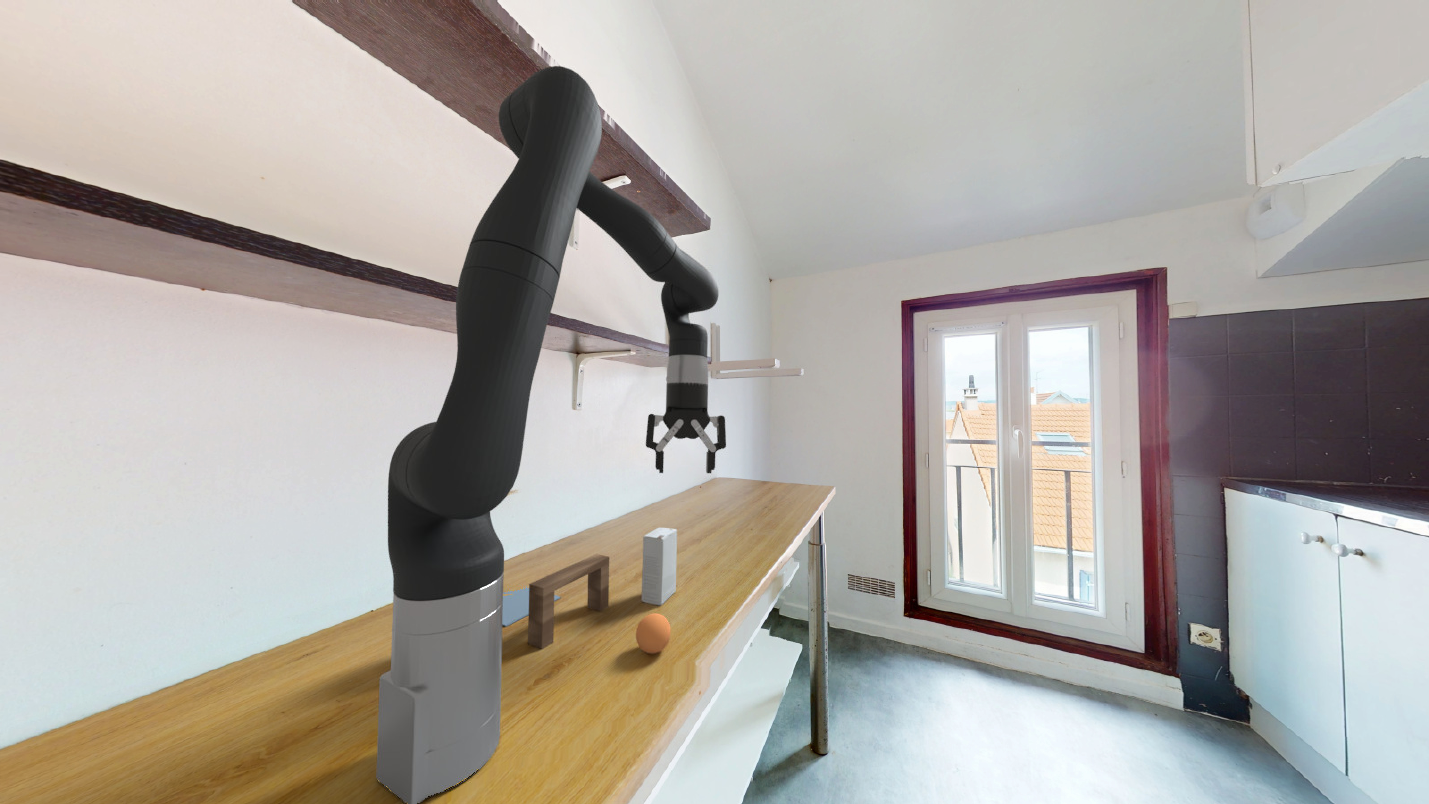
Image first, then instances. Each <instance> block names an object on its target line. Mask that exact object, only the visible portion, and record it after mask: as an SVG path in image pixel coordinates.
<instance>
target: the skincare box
mask: <svg viewBox="0 0 1429 804" xmlns="http://www.w3.org/2000/svg"><path fill="white" fill-rule="evenodd" d="M642 541H643V544H642V573H641V574H642V575H641V577H642V578H641V579H642V580H641V602H643V603H646V604H650V605H655V606H662V605H664V603H666V602H667V600H669V599H670V597H671V596H672V595H674V593H675V592H676V591H677V547H678V546H677V545H678V544H677V543H678V529H677V528H668V527H657V528H655V529H654V530H652V531H650V532H649V533H646V534H645V535H643V539H642Z"/></svg>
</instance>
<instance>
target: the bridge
mask: <svg viewBox="0 0 1429 804" xmlns="http://www.w3.org/2000/svg"><path fill="white" fill-rule="evenodd" d="M586 576H587V605H586V606H587V609H591V610H594V611H597V612H602V611H604V610H606V609H607V608H608V607H610V605H609V600H610V599H609V597H610V595H609V593H610V590H609V589H610V586H609V585H610V556H607V555H603V554H598V553H596V554H593V555H591V556H589V557H586V558H585V559H582V560H580V561H577V562H575V563H573V564H570V565H568V566H566V567H565V568H562V569H559V570H558V571H555V572H553V573H551V574H549V575H546V576H544V577H542V578H539V579H537V580H535V581H532V582H530V583H528V587H529V615H528V617H527V619H528V625H527V626H528V629H527V644H528V645H530V646H533V647H535V648H537V649H538V648H539V649H541V650H543V649H545V648H546V647H548V646H549V645H551V644H553V643H554V637H555V636H554V634H555V633H554V628H555V627H554V626H555V625H554V624H555V601H554V595H555V591H557V590H559V589H561V588H564V587H565V586H567V585H569V584H571V583H574V582H575V581H577V580H579V579H581V578H583V577H586Z"/></svg>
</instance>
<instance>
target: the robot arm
mask: <svg viewBox="0 0 1429 804" xmlns="http://www.w3.org/2000/svg"><path fill="white" fill-rule="evenodd" d="M602 123H603V122H602V114H601V110H600V106H599V102H598V100H597V98H596V96H595V93H594V92H593V90H592V88H591V86H590V85H589V83H588V82H587V81H586V80H585V79H584V78H583V77H582V76H581V75H580V74H579V73H578V72H576V71H574V70H573V69H571V68H568V67H565V66H562V65H561V66H559V65H554V66H548V67H545V68H542V69H540V70H537V71H536V72H534V73H533V74H532V75H531V76H529V77H528V78H527V79H526V80H524V81H523V82H522V83H521V84H520V85H518V86H517V88H515V89H514V90H513V91H512V92H511V93H510V94H509V95H508V96H507V97H506V98H505V99H503V101H502V102H501V104H500V106H499V111H498V126H499V129H500V132H501V134H502V136H503V139H504V141H505V142H506V145H507V146H508V148H509V149H510V150H511V152H512V153H513V154H514V155H515V156H516V157H517V162H516V164H515V166H514V167H513V170H512V171H511V173H510V174H509V176H507V179H506V180H505V182H504V183H503V184H502V186H501V188H499V190H498V192H497V193H496V195H495V196H494V197H493V199H492V200H491V203H490V204H489V206H488V207H487V209H486V210H485V212H484V214H483V215H482V217H481V219H480V220H479V222H478V224H477V226H476V228H475V230H474V233H473V235H472V238H471V240H470V242H469V244H468V245H469V246H468V249H467V253H466V256H465V258H464V259H465V260H464V262H463V266H462V268H461V272H460V276H459V279H458V284H457V289H456V290H457V291H456V298H455V299H456V300H455V318H456V319H455V321H456V325H455V326H456V337H457V338H456V339H457V340H456V341H457V343H456V344H457V345H456V346H457V350H456V351H457V352H456V360H455V367H454V371H453V376H452V379H451V382H450V385H449V388H448V390H447V393H446V396H445V399H444V401H443V404H442V407H441V410H440V412H439V414H438V417H437V420H436V421H433V422H429V423H426V424H423V425H420V426H419V427H417V428H414V429H413V430H412V431H410V432H409V433H407V434H406V435H405V436H404V437H403V438H402V439H401V441H400V442H399V443H398V445H397V446H396V448H395V450H394V452H393V454H392V456H391V460H390V463H389V464H390V465H389V469H388V470H389V471H388V481H387V483H388V484H387V551H388V557H389V562H390V565H391V570H392V576H393V577H392V579H393V580H392V581H393V584H392V585H393V586H392V589H393V590H392V592H393V596H392V598H393V599H392V626H391V627H392V628H391V652H390V653H391V655H390V670H388V671H385V672H384V673H383V674H381V676H380V677H379V690H378V691H379V692H378V714H377V715H378V719H377V721H378V722H377V745H376V748H377V749H376V750H377V751H376V775H375V776H376V777H375V779H376V778H377V779H378V780H379V781H380V782H381V783H382V784H384V786H383V787H385V786H387V787H388V788H389V789H390V790H391V791H392V792H393V793H394V794H396V795H397V796H398V797H399V798H401V799H402V800H403V801H404V802H405V803H408V804H417V803H419V804H420V803H422V802H423V801H424V800H426V799H427V798H429V797H428V796H430V797H432V796H435V795H436V793H438V794H441V793H443V792H445V791H444V790H445V789H447V788H449V787H451V786H454V785H456V784H457V783H459V782H460V781H462V780H464V779H465V778H468V777H469V776H470V775H472V774H473V773H474V772H475V773H476V771H477V769H479V770H481V768H482V767H484V765H485V764H487V762H488V761H489V760H490V759H491V757H492V756H493V754H494V753H495V751H496V750H497V748H498V745H499V743H500V738H501V711H502V710H501V707H502V706H501V705H502V704H501V702H502V701H501V700H502V698H501V696H502V662H503V661H502V659H503V657H502V656H503V626H502V617H503V592H504V578H505V577H504V573H505V571H504V570H505V550H504V545H503V543H502V542H501V540H500V538H499V536H498V535H497V532H496V530H495V529H494V526H493V522H492V517H491V511H493V510H495V509H496V508H497V507H498V506H499V505H500V504H501V503H502V502H503V501H504V500H505V498H507V496H508V495H509V493H510V492H511V490H512V488H513V487H514V485H515V482H516V481H517V478H518V475H519V471H520V467H521V462H522V461H521V460H522V456H523V450H524V449H523V448H524V441H525V435H526V433H525V432H526V426H527V420H528V419H527V418H528V411H529V403H530V397H531V392H532V391H531V390H532V387H533V381H534V377H535V373H536V369H537V366H538V362H539V358H540V355H541V352H542V348H543V347H542V346H543V342H544V338H545V335H546V330H547V325H548V322H549V318H550V317H551V313H552V308H553V307H554V306H553V305H554V302H555V301H554V300H555V298H556V294H557V290H558V286H559V282H560V278H561V273H562V268H563V262H564V257H565V255H566V254H565V253H566V250H567V247H568V243H569V239H570V236H571V231H572V229H573V228H572V227H573V224H574V221H575V216H576V212H577V210H578V211H580V213H582V214H583V215H584V216H586V217H587V218H588V219H589V220H590V221H592V222H593V223H594V224H596V225H597V226H598V227H599V228H601V229H602V231H604V232H605V233H606V234H607V235H608V236H609V237H610V238H612V239H613V241H615V243H617V244H618V245H619V246H620V247H621V249H623V251H624V252H625V253H626V254H627V255H628V256H629V257H630V258H631V259H632V260H633V262H634V263H636V265H637V266H638V267H639V269H641V270H642V272H643V273H644V274H645V275H646V276H647V277H648V278H650V279H651V280H652V281H653V282H658V283H664V284H663V285H662V288H661V293H660V302H661V306H662V309H663V314H664V318H665V324H666V327H667V328H666V329H667V332H668V336H669V338H668V339H669V340H668V361H667V362H668V363H667V367H666V368H667V369H666V378H665V380H666V387H665V389H666V390H665V391H666V392H665V395H666V396H665V413H664V415H661V414H660V415H658V414H654V413H650V414H648V416H647V417H648V418H647V424H646V425H647V426H646V427H647V428H646V437H645V447H646V448H648V449H651V450H653V451H654V452H655V469H656V471H657V470H658V472H659V474H664V459H665V456H664V455H665V453H664V452H665V451H664V448H666V446H667V445H668V444H669V443H670V441H671V440H672V439H673V437H674V438H676V439H679V440H683V439H690V440H696V439H697V438H699V439H700V441H701V442H702V443H703V444H704V445H705V447H706V448H707V451H706V462H705V472H706V474H712V471H714V470H715V468H716V453H717V451H720V450H723V449H726V447H727V435H726V434H727V433H726V417H725V416H724V415H717V416H715V415H714V416H710V415H709V411H708V410H709V409H708V406H709V404H708V403H709V400H708V398H709V396H708V395H709V366H708V365H709V364H708V346H709V345H708V342H709V340H708V338H709V336H708V331H707V329H706V328H705V326H703V325H700V324H696V323H691V321H690V317H689V314H693V313H699V312H704V311H708V310H710V309H712V308H713V307H715V306H716V304H717V302H718V298H719V287H718V283H717V281H716V279H715V278H714V276H713V275H712V273H711V272H710V271H709V270H708V269H707V268H706V267H705V266H703V264H701V263H700V262H698V261H697V260H696V259H694V257H692V256H691V255H689V254H688V253H687V252H685V251H684V250H682V249H681V248H680V247H679V246H678V245H677V243H676V242H675V241H674V239H673V238H672V236H671V235H670V234H669V232H667V231H666V229H665V228H664V226H663V224H662V223H661V222H660V221H659V220H657V218H655V216H654V215H652V213H650V212H649V211H647V210H646V209H644V208H643V207H642V206H640V205H639V204H637V203H636V202H634V201H632V200H630V199H628V198H627V197H625V196H624V195H622V194H620V193H618V192H617V191H616V190H614V189H612V188H611V187H609V186H608V185H607V184H605V183H604V182H602V180H600V179H599V178H598V177H596V175H595V174H593V173H592V172H591V169H592V167H593V163H594V161H595V159H596V156H597V154H598V151H599V149H600V144H601V141H602V133H603V129H602V128H603V124H602ZM661 422H663V423H664V425H665V426H666V427H667V429H668V431H667V432H666V433H665V434H664V435H663V437H662V438H661V439H660V441H659V442H655V441H654V435H655V427H658V426H659V425H660V423H661ZM710 422H711V423H712V426H713V428H716V439H717V442H715V443H713V441H712V440H711V438H710V437H709V435H708V434H707V433H706V431H705V429H706V428H707V427H708V425H709V424H710ZM477 772H478V771H477ZM475 773H474V774H475ZM474 774H473V775H474ZM473 775H472V776H473ZM469 778H470V777H469ZM469 778H468V779H469ZM377 779H376V780H377ZM379 781H378V782H379ZM464 781H465V780H464ZM380 782H379V783H380ZM381 783H380V784H381ZM382 784H381V785H382ZM456 786H457V785H456ZM454 787H455V786H454ZM390 790H389V791H390ZM391 791H390V792H391ZM392 792H391V793H392ZM440 792H441V793H440ZM393 793H392V794H393ZM394 794H393V795H394ZM434 794H435V795H434ZM396 795H395V796H396ZM431 795H432V796H431ZM397 796H396V797H397ZM398 797H397V798H398ZM399 798H398V799H399ZM425 798H426V799H425ZM401 799H400V800H401ZM402 800H401V801H402ZM403 801H402V802H403ZM404 802H403V803H404ZM405 803H404V804H405Z"/></svg>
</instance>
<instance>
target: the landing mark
mask: <svg viewBox="0 0 1429 804" xmlns="http://www.w3.org/2000/svg"><path fill="white" fill-rule="evenodd" d="M527 587H528V586H526V588H525V589H524V588H523V590H522V589H520V590H517V591H516V590H515V591H514V592H513V591H510V592H509V591H508V592H507V593H506V592H505V591H503V594H513V595H507V596H503V617H502V627H508V626H510V625H512V624H514V623H516V622H518V621H520V620H522V619H524V618H526V617H527V616H529V588H527ZM561 598H562V597H561V596H559V595H556V594H554V602H556V601H557V600H560V599H561Z"/></svg>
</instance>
